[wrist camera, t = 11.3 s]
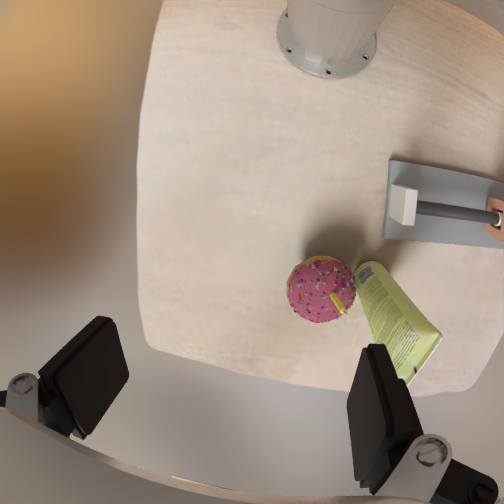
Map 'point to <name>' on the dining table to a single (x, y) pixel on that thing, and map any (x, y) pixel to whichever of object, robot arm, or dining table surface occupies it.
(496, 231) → the sleeve
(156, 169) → the dining table surface
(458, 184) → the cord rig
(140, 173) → the dining table surface
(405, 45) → the dining table surface
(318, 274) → the cupcake
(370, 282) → the tube
